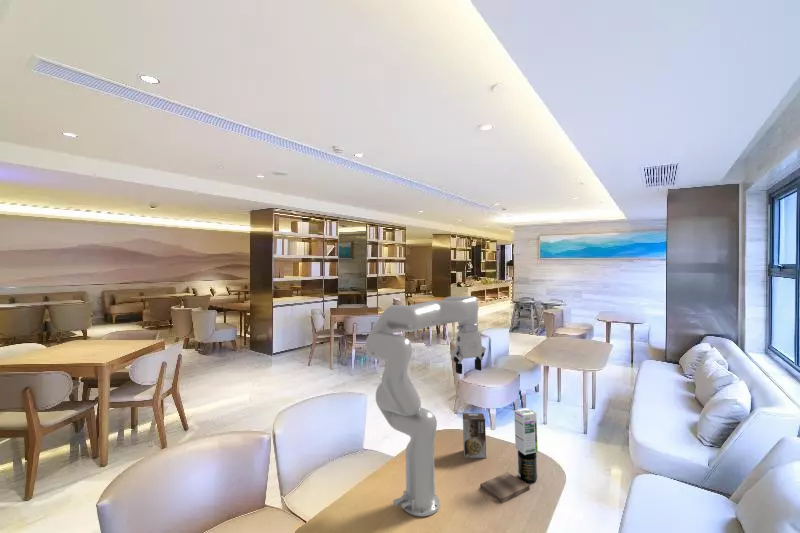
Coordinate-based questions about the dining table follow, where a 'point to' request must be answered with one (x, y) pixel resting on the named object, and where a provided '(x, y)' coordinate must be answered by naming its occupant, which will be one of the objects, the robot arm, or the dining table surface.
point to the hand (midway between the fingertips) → (468, 371)
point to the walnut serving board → (504, 487)
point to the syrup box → (525, 431)
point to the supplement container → (527, 467)
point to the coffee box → (474, 435)
